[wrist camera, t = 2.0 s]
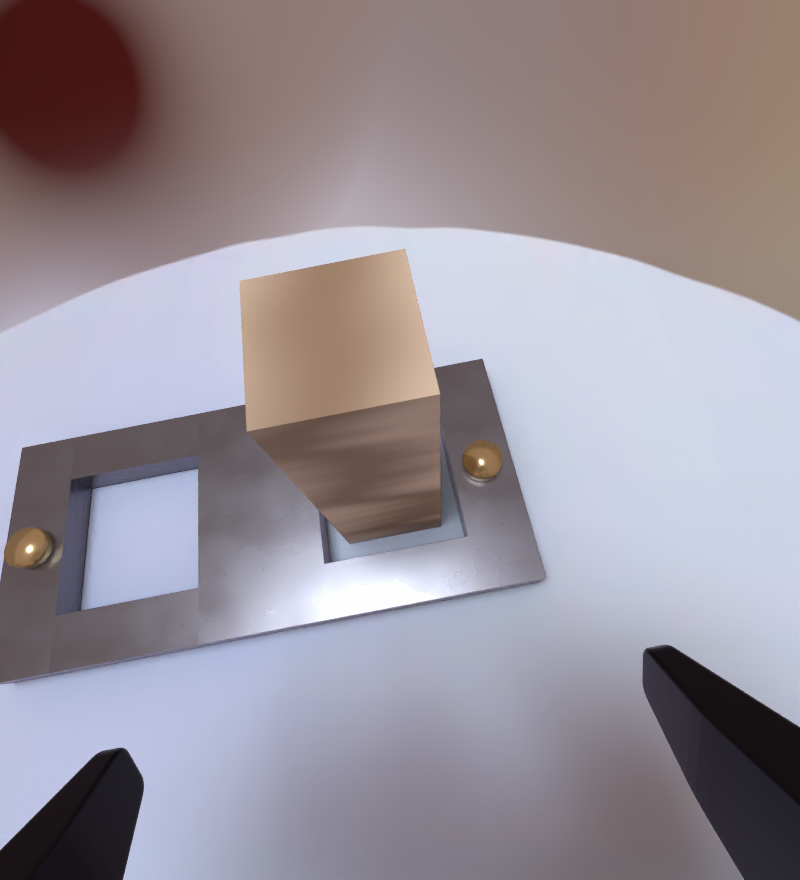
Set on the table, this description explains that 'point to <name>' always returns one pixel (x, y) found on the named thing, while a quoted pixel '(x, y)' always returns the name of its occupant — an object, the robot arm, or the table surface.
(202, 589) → the strike plate
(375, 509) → the birch peg
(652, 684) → the robot arm
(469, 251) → the table surface
